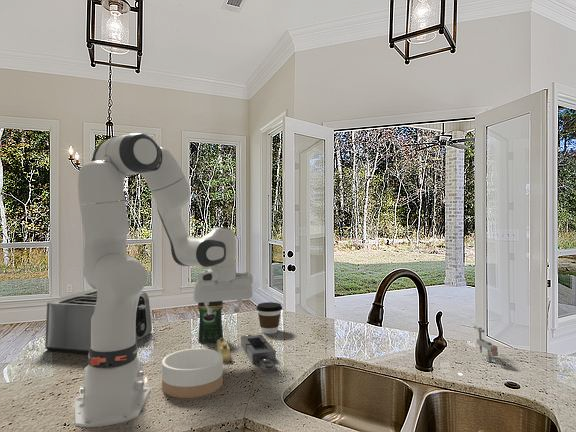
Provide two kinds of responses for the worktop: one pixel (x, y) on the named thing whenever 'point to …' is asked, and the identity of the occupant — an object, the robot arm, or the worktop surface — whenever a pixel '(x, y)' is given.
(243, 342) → the chain end far
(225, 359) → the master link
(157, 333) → the worktop surface
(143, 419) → the worktop surface
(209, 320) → the coffee jar
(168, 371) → the bowl
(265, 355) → the chain end near
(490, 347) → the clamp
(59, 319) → the toaster
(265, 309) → the coffee cup
